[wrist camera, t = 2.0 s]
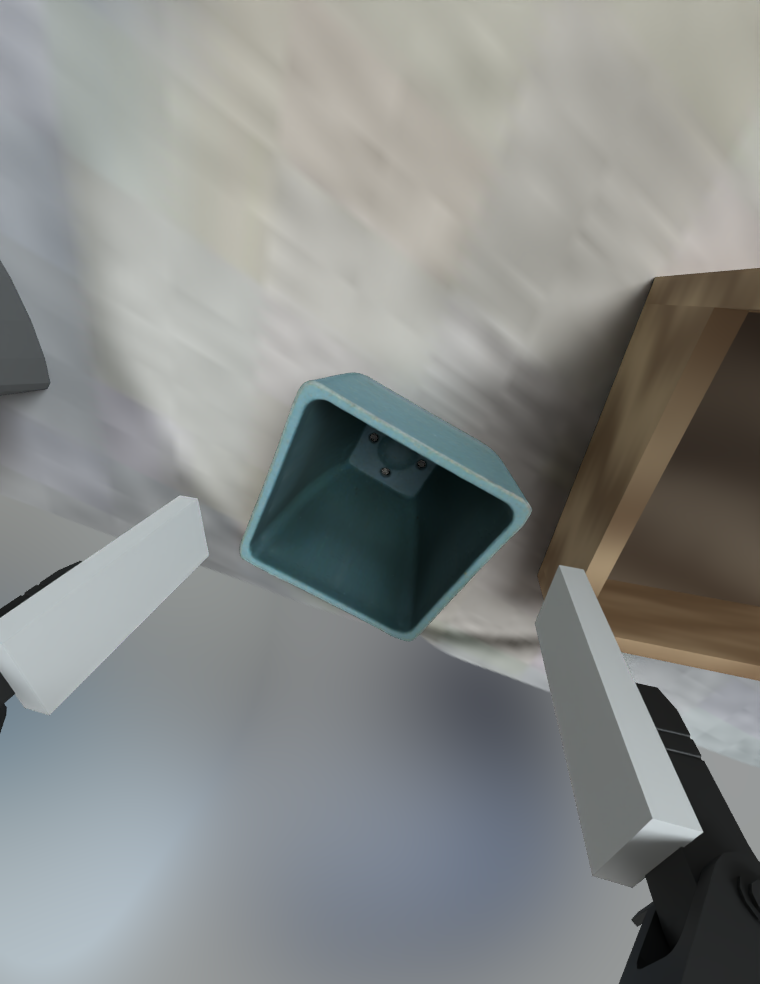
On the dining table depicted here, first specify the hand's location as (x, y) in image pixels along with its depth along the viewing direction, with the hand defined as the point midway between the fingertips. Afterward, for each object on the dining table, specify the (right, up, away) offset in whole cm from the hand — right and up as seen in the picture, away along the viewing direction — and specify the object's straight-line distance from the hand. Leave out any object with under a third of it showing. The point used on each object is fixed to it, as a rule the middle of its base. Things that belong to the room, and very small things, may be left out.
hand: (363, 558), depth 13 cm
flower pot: (+2, +5, +8) cm, 10 cm away
